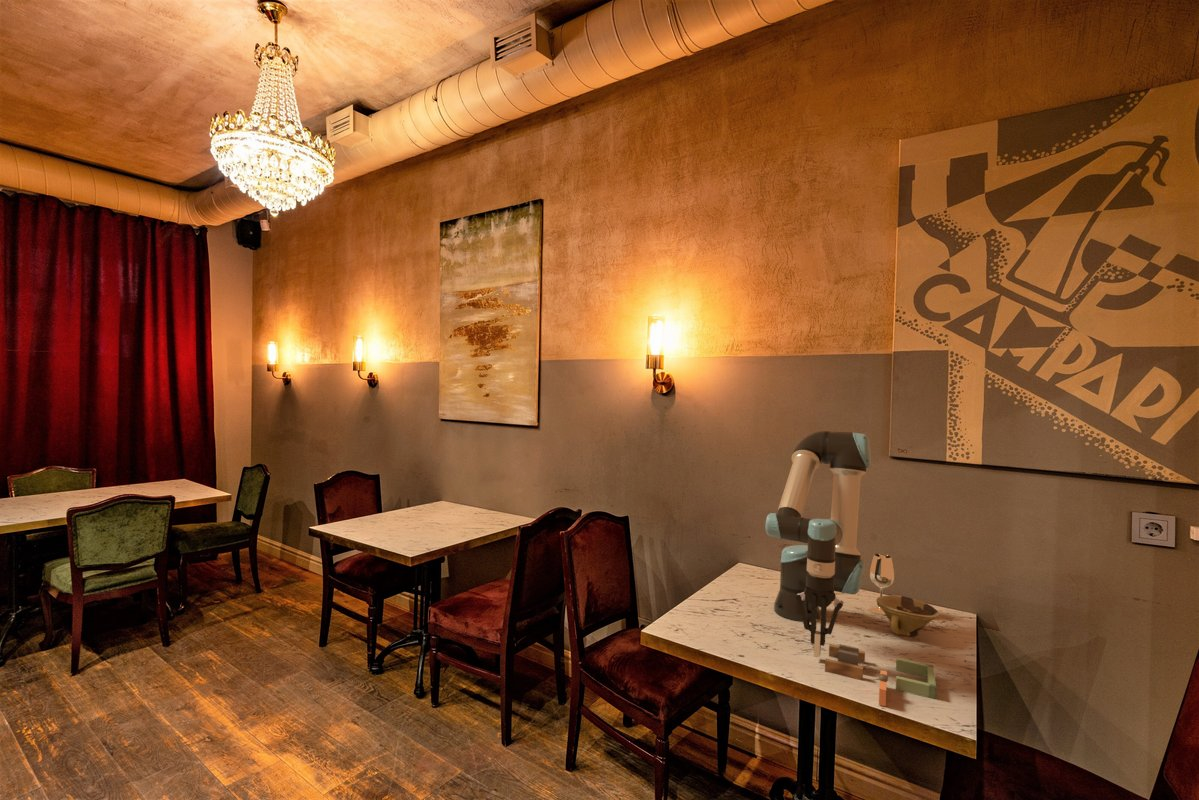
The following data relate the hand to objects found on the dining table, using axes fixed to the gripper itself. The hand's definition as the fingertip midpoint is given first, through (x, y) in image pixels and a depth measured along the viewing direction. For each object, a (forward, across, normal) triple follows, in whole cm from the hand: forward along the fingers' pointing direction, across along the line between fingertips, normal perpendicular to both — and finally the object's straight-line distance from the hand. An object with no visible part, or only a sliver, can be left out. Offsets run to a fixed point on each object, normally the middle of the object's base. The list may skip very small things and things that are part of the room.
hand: (817, 655), depth 165 cm
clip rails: (+2, +8, 0) cm, 8 cm away
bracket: (+1, +25, 0) cm, 25 cm away
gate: (+2, +17, -12) cm, 21 cm away
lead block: (+2, +8, 0) cm, 8 cm away
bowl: (+2, +23, +36) cm, 43 cm away
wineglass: (+2, +15, +52) cm, 54 cm away
